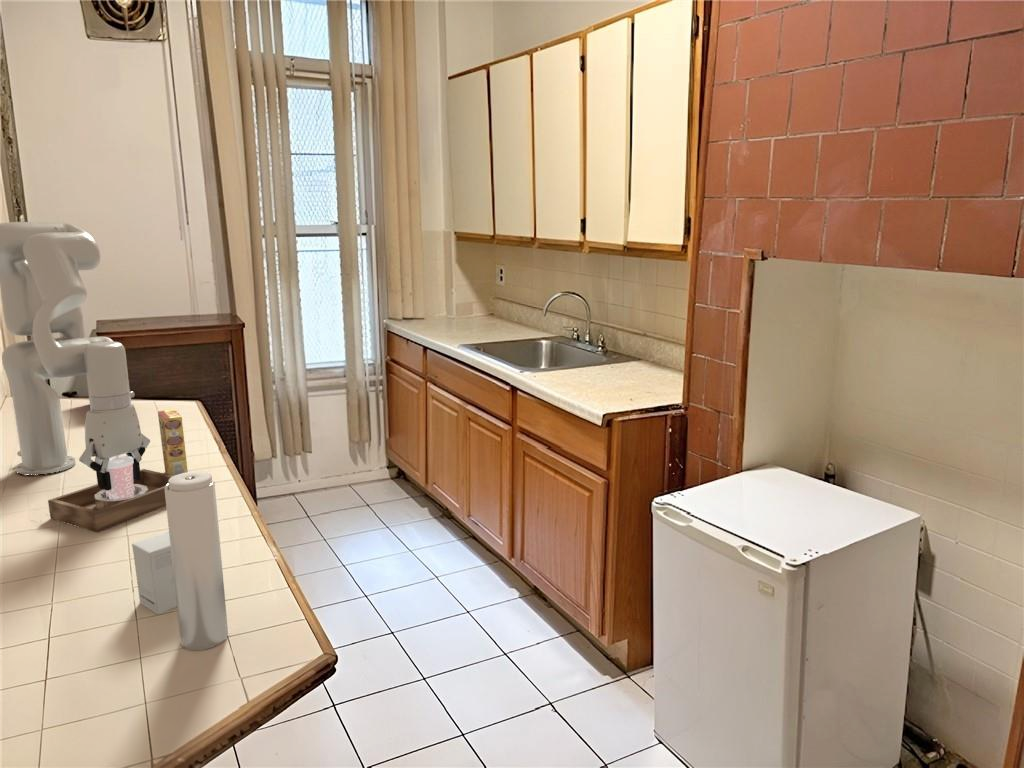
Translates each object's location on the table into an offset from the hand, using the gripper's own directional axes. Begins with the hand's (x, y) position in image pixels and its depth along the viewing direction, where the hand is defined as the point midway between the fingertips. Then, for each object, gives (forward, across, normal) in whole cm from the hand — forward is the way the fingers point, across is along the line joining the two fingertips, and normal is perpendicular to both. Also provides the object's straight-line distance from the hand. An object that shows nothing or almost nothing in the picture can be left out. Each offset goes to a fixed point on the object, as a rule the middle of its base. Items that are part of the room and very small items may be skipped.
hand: (120, 483), depth 159 cm
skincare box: (+5, +21, +43) cm, 48 cm away
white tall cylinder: (+5, +28, +57) cm, 64 cm away
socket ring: (+5, 0, 0) cm, 5 cm away
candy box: (+6, -19, -7) cm, 21 cm away
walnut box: (+5, 0, 0) cm, 5 cm away
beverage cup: (+4, 0, 0) cm, 4 cm away
